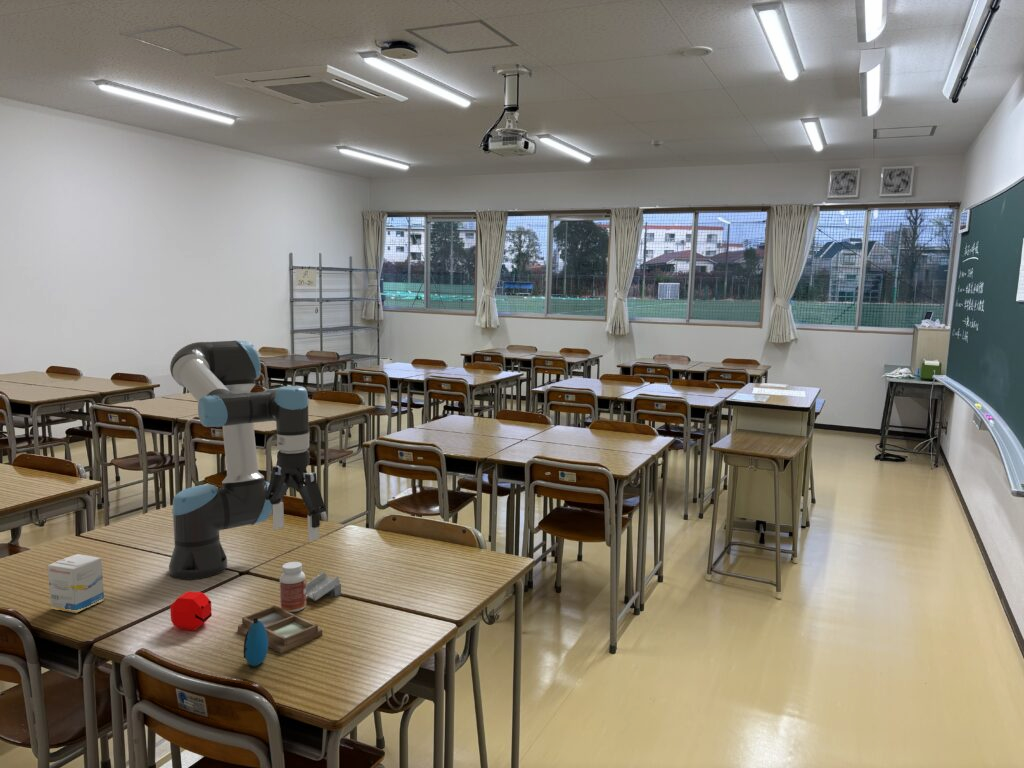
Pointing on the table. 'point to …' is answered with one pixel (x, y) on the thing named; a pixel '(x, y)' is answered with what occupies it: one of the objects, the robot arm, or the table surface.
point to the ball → (190, 610)
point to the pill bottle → (292, 587)
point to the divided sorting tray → (282, 628)
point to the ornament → (256, 643)
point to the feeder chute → (323, 587)
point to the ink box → (75, 582)
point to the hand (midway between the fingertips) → (295, 534)
